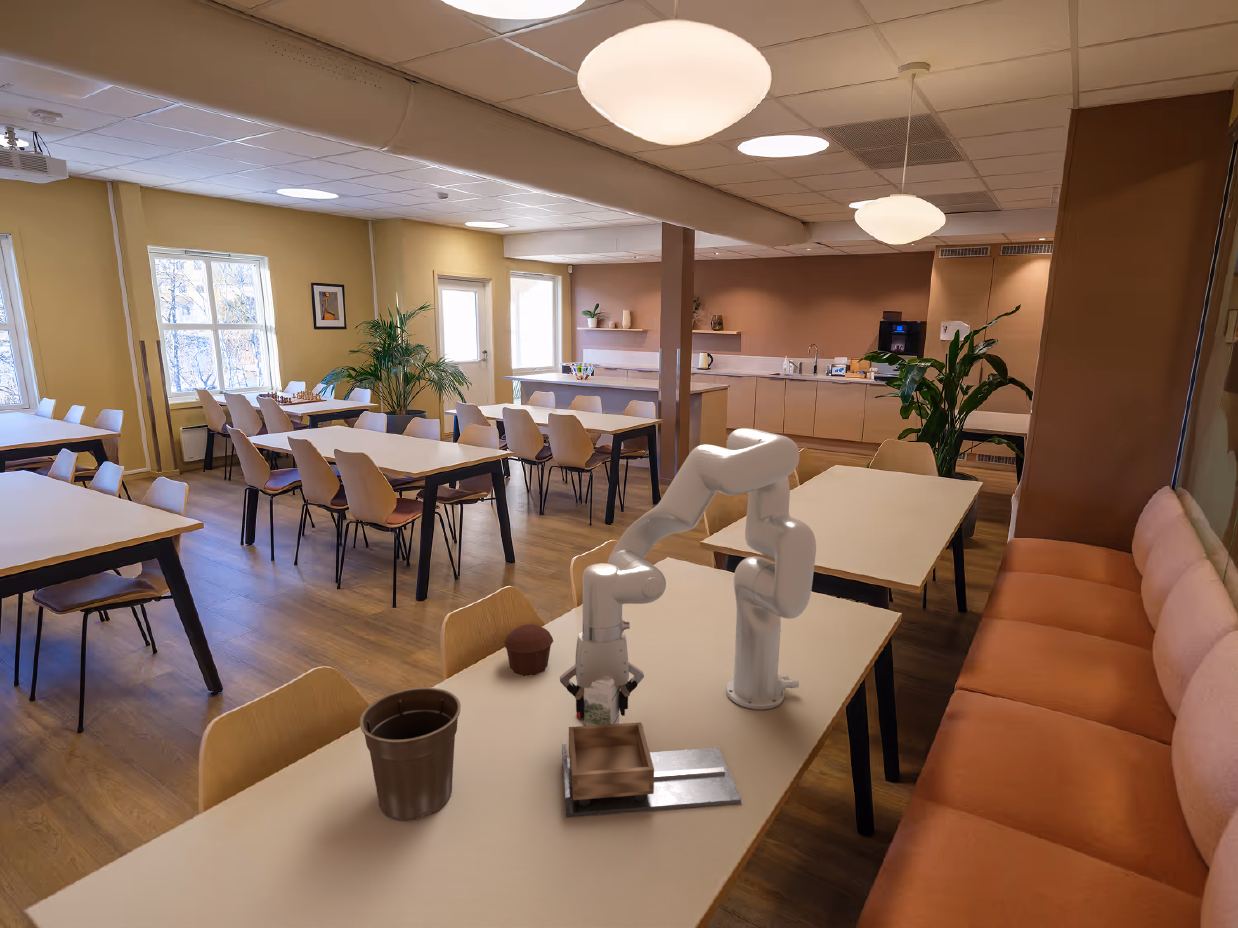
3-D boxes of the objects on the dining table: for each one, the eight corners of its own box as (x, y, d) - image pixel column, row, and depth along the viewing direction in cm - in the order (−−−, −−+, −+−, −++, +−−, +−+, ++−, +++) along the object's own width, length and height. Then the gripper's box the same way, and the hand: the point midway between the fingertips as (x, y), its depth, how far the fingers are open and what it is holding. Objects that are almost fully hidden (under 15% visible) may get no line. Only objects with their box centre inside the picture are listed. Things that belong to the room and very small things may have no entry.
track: (718, 751, 127) (719, 733, 126) (741, 803, 113) (742, 783, 112) (562, 762, 123) (562, 743, 122) (565, 817, 109) (565, 797, 108)
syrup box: (620, 735, 131) (621, 668, 128) (610, 752, 126) (611, 683, 123) (593, 729, 133) (594, 663, 130) (582, 746, 128) (582, 677, 125)
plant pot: (387, 764, 122) (382, 684, 119) (474, 766, 121) (471, 687, 118) (349, 829, 106) (342, 739, 103) (449, 832, 106) (444, 742, 102)
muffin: (513, 683, 150) (512, 642, 148) (498, 661, 160) (497, 623, 158) (561, 671, 156) (560, 632, 154) (543, 651, 165) (543, 614, 163)
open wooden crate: (640, 753, 124) (641, 722, 123) (653, 804, 111) (654, 769, 110) (568, 758, 122) (568, 726, 121) (572, 810, 109) (572, 775, 108)
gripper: (644, 618, 130) (642, 700, 133) (555, 622, 127) (556, 705, 131) (650, 635, 122) (649, 721, 126) (557, 640, 120) (557, 727, 124)
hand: (601, 712), depth 128 cm, fingers closed on syrup box, 7 cm apart
